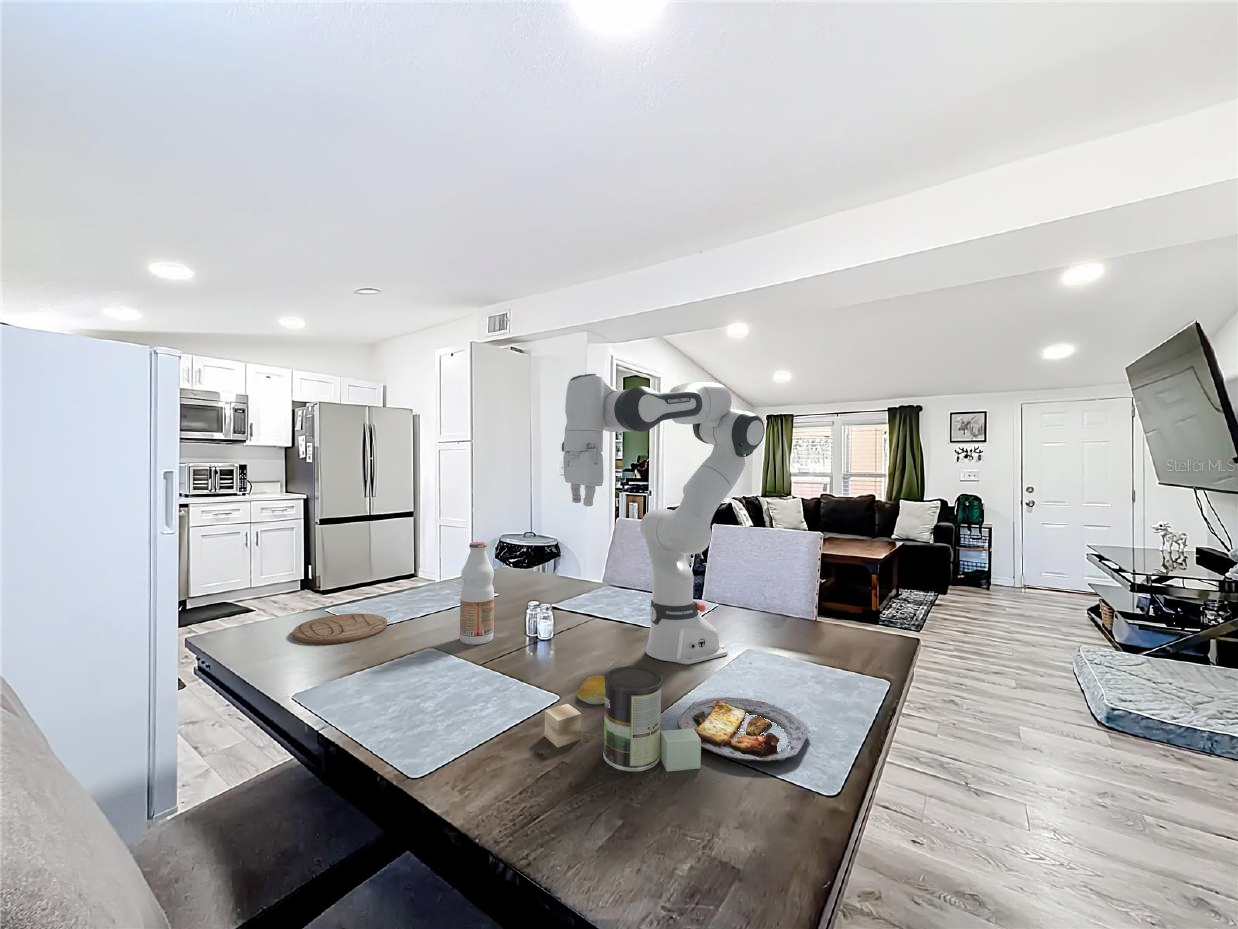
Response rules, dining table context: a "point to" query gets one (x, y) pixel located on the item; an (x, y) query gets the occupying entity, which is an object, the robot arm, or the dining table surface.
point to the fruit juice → (477, 597)
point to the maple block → (562, 725)
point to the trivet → (339, 629)
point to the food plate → (725, 717)
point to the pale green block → (680, 749)
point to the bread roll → (593, 690)
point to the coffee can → (632, 718)
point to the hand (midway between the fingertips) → (582, 504)
